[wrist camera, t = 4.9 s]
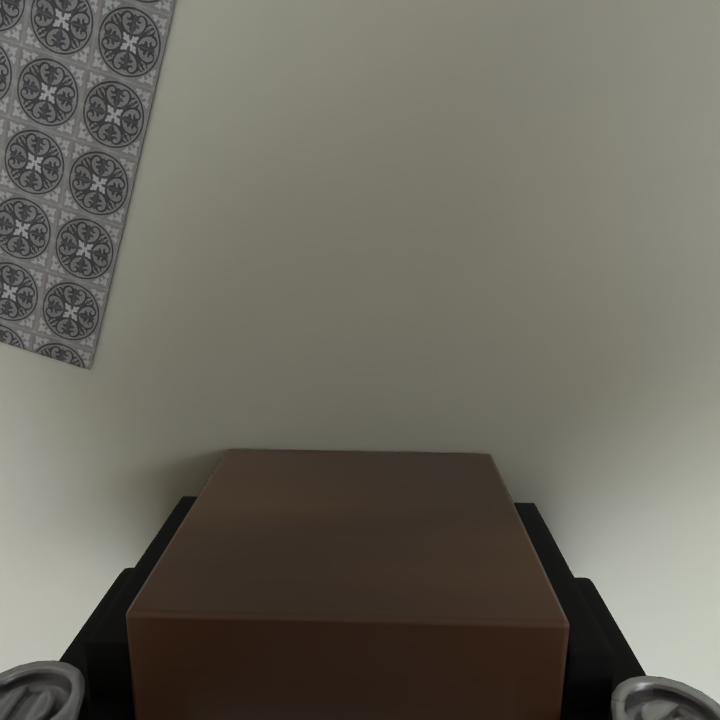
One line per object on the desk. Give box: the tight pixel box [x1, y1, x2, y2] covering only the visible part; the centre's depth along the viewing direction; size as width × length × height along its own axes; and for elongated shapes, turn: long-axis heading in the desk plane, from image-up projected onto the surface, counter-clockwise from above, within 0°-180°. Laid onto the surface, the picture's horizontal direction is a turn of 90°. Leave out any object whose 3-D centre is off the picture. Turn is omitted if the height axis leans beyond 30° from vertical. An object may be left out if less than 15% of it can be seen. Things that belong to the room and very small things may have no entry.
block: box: [126, 449, 569, 720], centre depth 9 cm, size 5×5×5 cm
